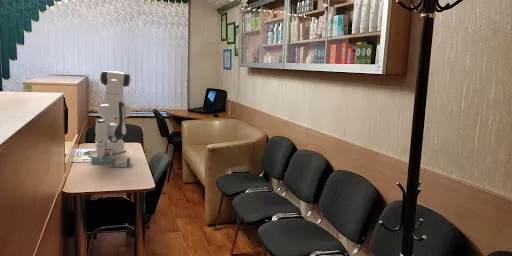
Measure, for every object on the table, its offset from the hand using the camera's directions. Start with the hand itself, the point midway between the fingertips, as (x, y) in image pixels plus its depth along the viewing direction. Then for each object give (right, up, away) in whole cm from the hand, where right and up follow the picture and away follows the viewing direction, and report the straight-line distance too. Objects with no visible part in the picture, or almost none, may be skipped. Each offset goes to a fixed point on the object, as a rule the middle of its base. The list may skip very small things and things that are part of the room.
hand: (101, 160), depth 299 cm
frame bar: (0, -2, 0) cm, 2 cm away
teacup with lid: (0, 0, +12) cm, 13 cm away
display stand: (+16, -3, -5) cm, 17 cm away
